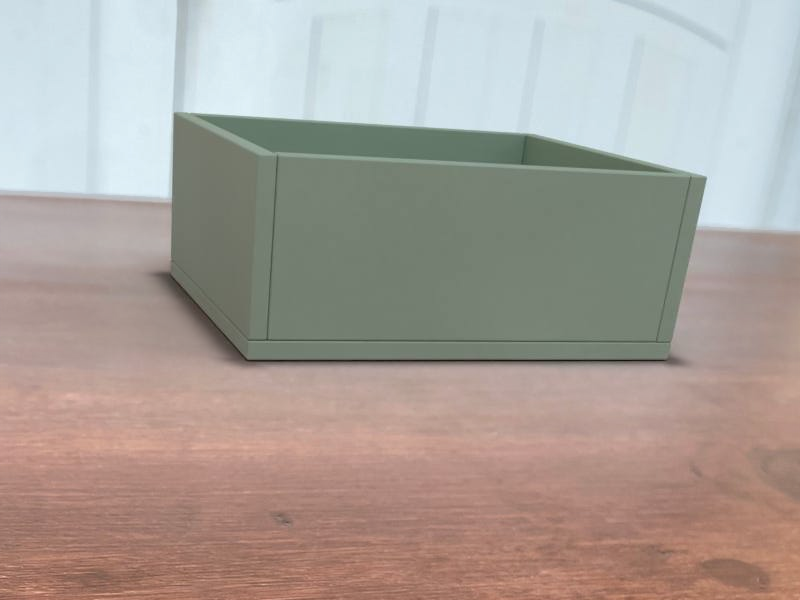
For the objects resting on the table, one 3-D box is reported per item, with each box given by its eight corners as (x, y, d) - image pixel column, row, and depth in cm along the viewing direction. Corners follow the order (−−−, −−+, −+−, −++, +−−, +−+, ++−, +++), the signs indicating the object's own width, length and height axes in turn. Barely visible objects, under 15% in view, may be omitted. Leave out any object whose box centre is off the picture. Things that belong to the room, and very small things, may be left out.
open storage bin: (511, 281, 67) (533, 133, 64) (668, 360, 54) (708, 176, 50) (170, 275, 62) (173, 111, 58) (247, 360, 48) (257, 153, 44)
